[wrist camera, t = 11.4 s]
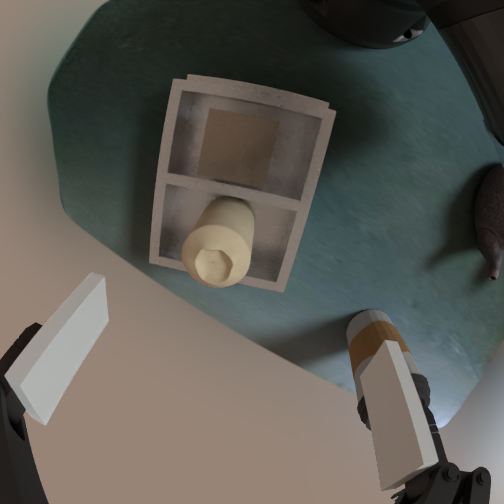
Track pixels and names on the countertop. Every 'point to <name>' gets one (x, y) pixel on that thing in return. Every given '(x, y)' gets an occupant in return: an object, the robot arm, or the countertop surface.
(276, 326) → the countertop surface
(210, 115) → the block
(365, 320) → the coffee cup
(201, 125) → the divided tray
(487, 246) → the teapot
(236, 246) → the candle
